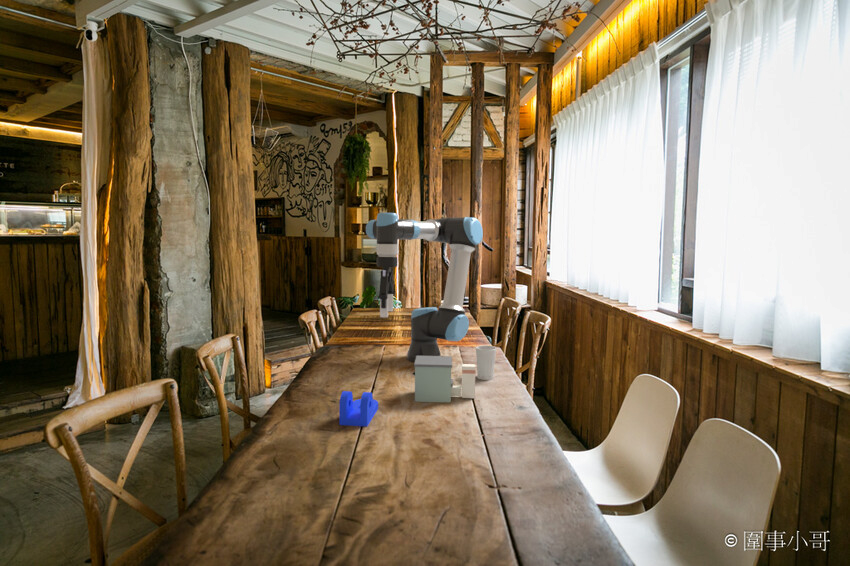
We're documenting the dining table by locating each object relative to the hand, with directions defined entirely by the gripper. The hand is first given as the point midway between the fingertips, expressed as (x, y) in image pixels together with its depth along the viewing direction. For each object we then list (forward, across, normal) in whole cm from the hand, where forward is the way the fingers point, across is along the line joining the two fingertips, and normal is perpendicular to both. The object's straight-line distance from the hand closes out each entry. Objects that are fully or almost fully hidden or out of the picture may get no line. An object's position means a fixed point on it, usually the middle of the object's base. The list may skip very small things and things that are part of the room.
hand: (386, 314), depth 175 cm
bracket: (+27, +30, -4) cm, 40 cm away
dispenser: (+26, +11, +18) cm, 34 cm away
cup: (+27, -13, +37) cm, 48 cm away
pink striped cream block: (+26, +11, +25) cm, 38 cm away
